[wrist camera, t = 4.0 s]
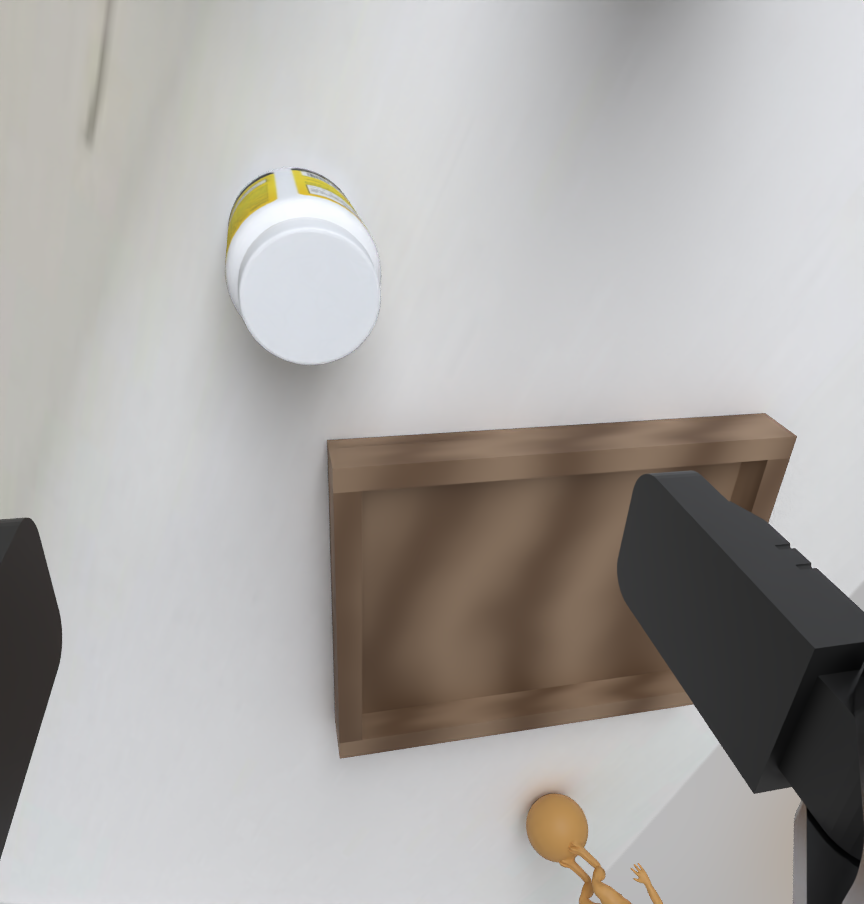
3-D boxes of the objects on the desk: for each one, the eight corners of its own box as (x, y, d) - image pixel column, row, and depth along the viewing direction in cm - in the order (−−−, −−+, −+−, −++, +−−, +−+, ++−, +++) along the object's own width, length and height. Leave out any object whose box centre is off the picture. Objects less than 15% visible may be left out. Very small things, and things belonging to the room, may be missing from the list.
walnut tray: (765, 413, 36) (797, 436, 34) (687, 670, 45) (708, 701, 43) (327, 440, 32) (332, 468, 30) (335, 720, 41) (339, 758, 38)
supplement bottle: (242, 301, 28) (240, 390, 21) (216, 173, 26) (202, 224, 19) (364, 284, 29) (402, 364, 22) (349, 158, 26) (385, 202, 19)
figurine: (545, 756, 46) (628, 958, 36) (622, 761, 48) (721, 953, 38) (497, 838, 50) (561, 1044, 40) (571, 839, 52) (649, 1035, 42)
